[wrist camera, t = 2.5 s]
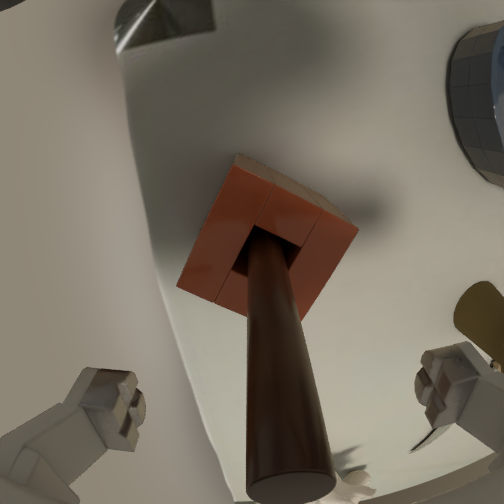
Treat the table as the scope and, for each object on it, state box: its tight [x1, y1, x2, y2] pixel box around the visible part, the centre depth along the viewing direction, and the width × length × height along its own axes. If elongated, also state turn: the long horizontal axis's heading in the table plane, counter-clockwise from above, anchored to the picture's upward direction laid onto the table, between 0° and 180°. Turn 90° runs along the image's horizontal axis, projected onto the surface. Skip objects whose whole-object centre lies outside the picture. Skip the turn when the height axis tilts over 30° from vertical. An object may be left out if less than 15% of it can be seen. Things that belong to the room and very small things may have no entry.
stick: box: [246, 224, 337, 504], centre depth 14 cm, size 2×2×20 cm
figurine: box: [306, 470, 376, 504], centre depth 32 cm, size 15×12×14 cm
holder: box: [176, 153, 359, 321], centre depth 20 cm, size 7×7×8 cm
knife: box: [410, 361, 501, 454], centre depth 31 cm, size 27×2×5 cm
